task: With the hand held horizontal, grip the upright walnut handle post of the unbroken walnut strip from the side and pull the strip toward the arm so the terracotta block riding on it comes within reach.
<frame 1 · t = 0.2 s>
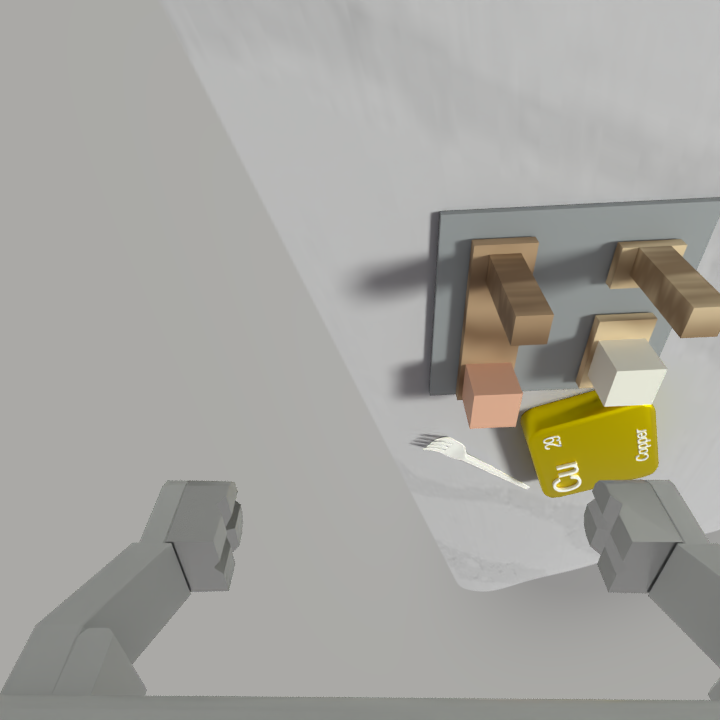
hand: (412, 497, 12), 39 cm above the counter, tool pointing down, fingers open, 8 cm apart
fork: (479, 460, 73), on the counter
slate board: (555, 307, 56), on the counter
element tile: (583, 429, 69), on the counter
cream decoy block: (615, 357, 57), point 2 cm above the counter, touching broken oak strip
walnut strip: (503, 357, 51), point 7 cm above the counter, slide at 0.0 cm, touching terracotta block
terracotta block: (485, 379, 59), point 2 cm above the counter, touching walnut strip
broken oak strip: (618, 311, 56), resting on slate board
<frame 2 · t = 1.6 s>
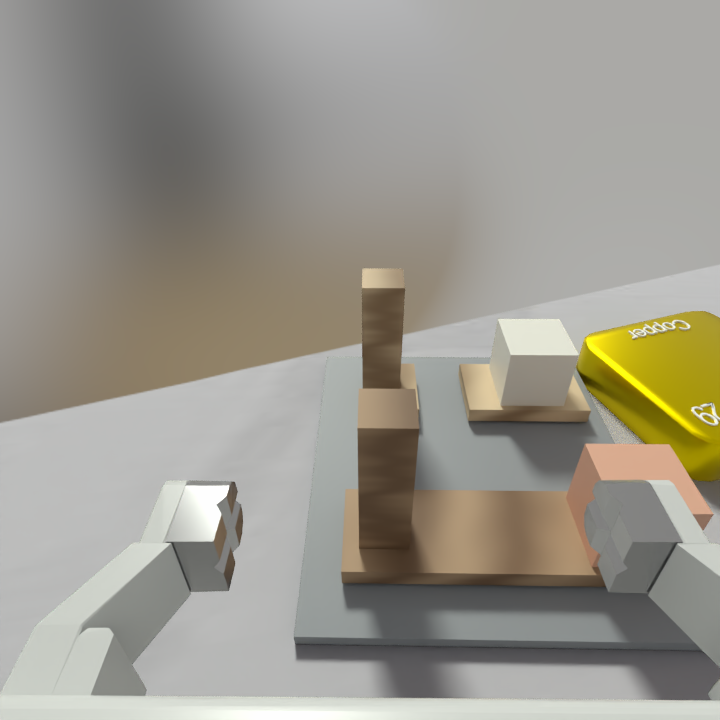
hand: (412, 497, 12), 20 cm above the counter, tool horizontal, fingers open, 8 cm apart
slate board: (467, 468, 39), on the counter
element tile: (688, 406, 46), on the counter
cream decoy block: (524, 385, 43), point 2 cm above the counter, touching broken oak strip
walnut strip: (517, 482, 30), point 7 cm above the counter, slide at 0.0 cm, touching terracotta block
terracotta block: (618, 530, 32), point 2 cm above the counter, touching walnut strip
broken oak strip: (467, 406, 45), resting on slate board
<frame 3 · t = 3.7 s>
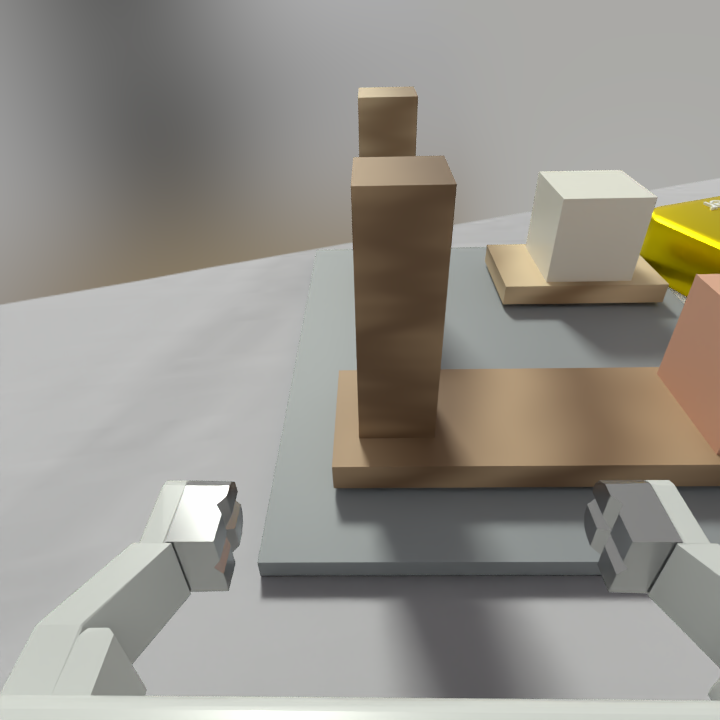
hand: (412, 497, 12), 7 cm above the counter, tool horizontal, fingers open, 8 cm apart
slate board: (506, 358, 29), on the counter
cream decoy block: (575, 263, 33), point 2 cm above the counter, touching broken oak strip
walnut strip: (601, 321, 19), point 7 cm above the counter, slide at 0.0 cm, touching terracotta block
broken oak strip: (498, 295, 34), resting on slate board
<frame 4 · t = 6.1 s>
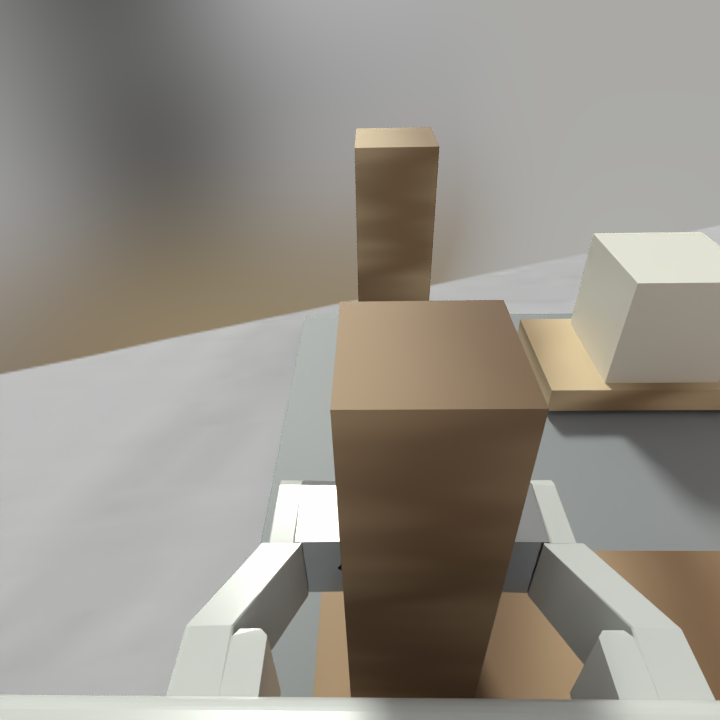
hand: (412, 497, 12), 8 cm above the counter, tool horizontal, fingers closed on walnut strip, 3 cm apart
slate board: (556, 496, 21), on the counter
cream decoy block: (638, 350, 25), point 2 cm above the counter, touching broken oak strip
broken oak strip: (536, 387, 27), resting on slate board
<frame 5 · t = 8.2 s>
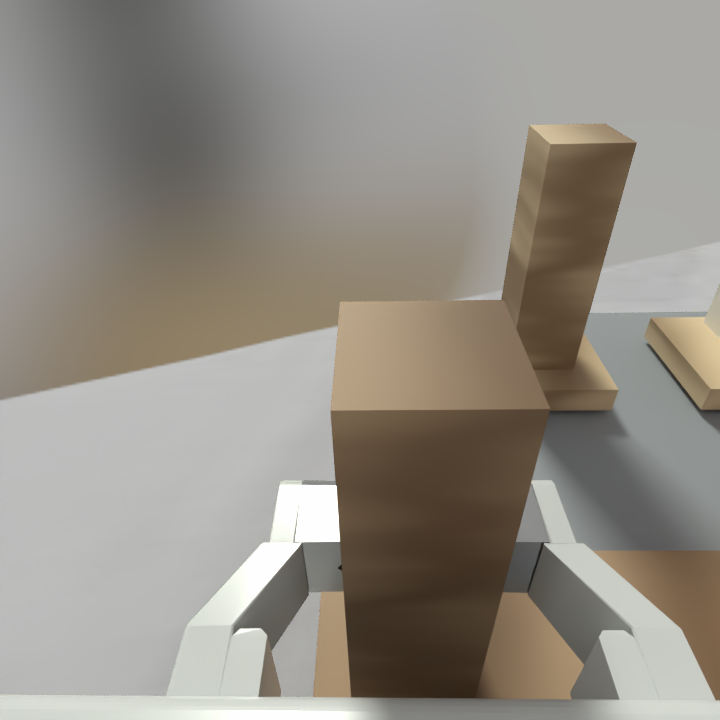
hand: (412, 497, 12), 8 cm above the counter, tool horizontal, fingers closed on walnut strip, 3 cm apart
broken oak strip: (672, 386, 27), resting on slate board
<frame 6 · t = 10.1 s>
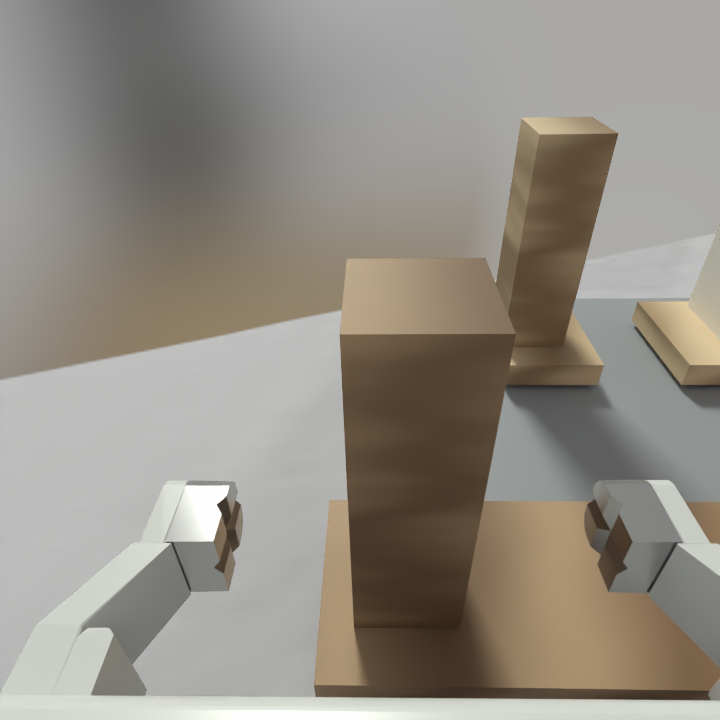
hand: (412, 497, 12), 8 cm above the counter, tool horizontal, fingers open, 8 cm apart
slate board: (704, 462, 23), on the counter
walnut strip: (705, 485, 13), point 7 cm above the counter, slide at 7.0 cm, touching terracotta block
broken oak strip: (657, 365, 28), resting on slate board
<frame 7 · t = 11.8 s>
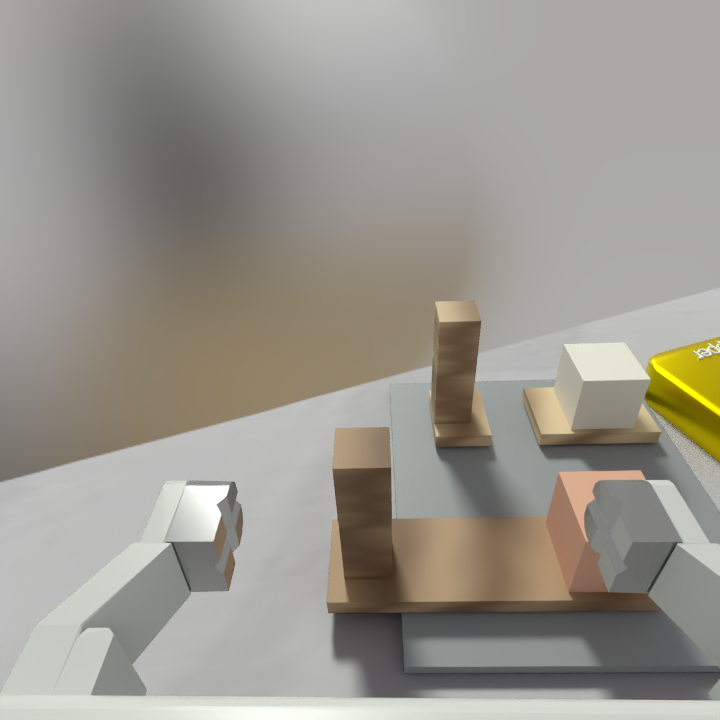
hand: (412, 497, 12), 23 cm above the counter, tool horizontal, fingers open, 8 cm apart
slate board: (544, 492, 40), on the counter
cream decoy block: (591, 408, 44), point 2 cm above the counter, touching broken oak strip
walnut strip: (492, 512, 31), point 7 cm above the counter, slide at 7.0 cm, touching terracotta block
terracotta block: (596, 554, 33), point 2 cm above the counter, touching walnut strip
broken oak strip: (534, 429, 46), resting on slate board
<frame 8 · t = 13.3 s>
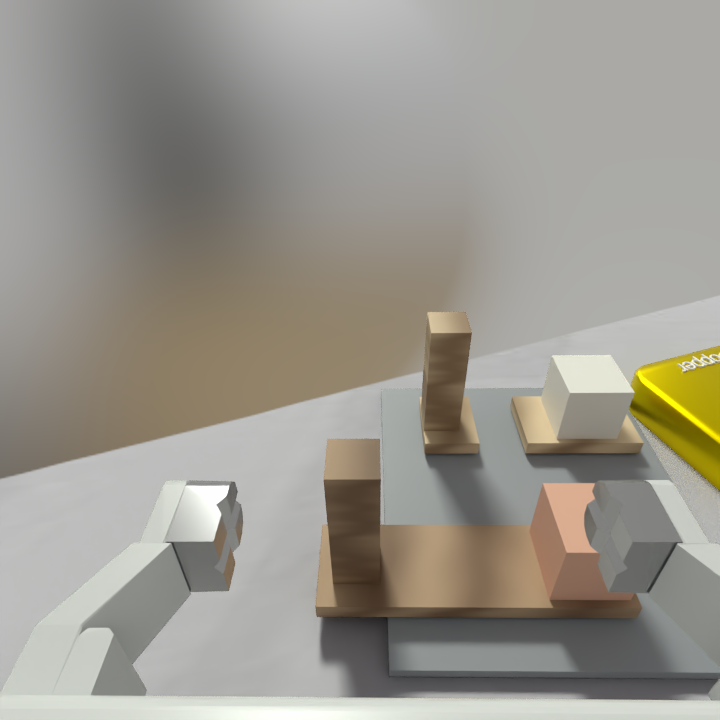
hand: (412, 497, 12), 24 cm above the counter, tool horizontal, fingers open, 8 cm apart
slate board: (529, 500, 41), on the counter
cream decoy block: (577, 418, 45), point 2 cm above the counter, touching broken oak strip
walnut strip: (477, 521, 32), point 7 cm above the counter, slide at 7.0 cm, touching terracotta block
terracotta block: (576, 563, 34), point 2 cm above the counter, touching walnut strip
broken oak strip: (521, 437, 47), resting on slate board
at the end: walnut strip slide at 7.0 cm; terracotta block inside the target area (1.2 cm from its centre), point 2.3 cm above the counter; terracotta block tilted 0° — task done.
